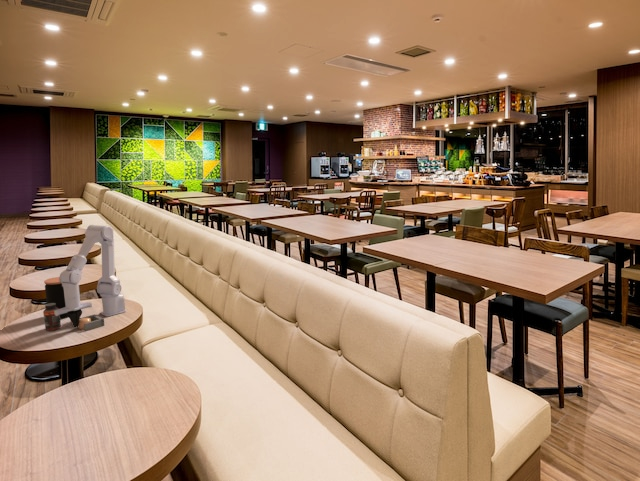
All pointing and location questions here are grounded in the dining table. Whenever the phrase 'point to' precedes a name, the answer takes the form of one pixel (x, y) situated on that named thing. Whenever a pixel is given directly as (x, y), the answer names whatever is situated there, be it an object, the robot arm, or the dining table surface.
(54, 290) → the coffee jar
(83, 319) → the tan rounded knob
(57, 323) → the supplement bottle
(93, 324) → the dock
